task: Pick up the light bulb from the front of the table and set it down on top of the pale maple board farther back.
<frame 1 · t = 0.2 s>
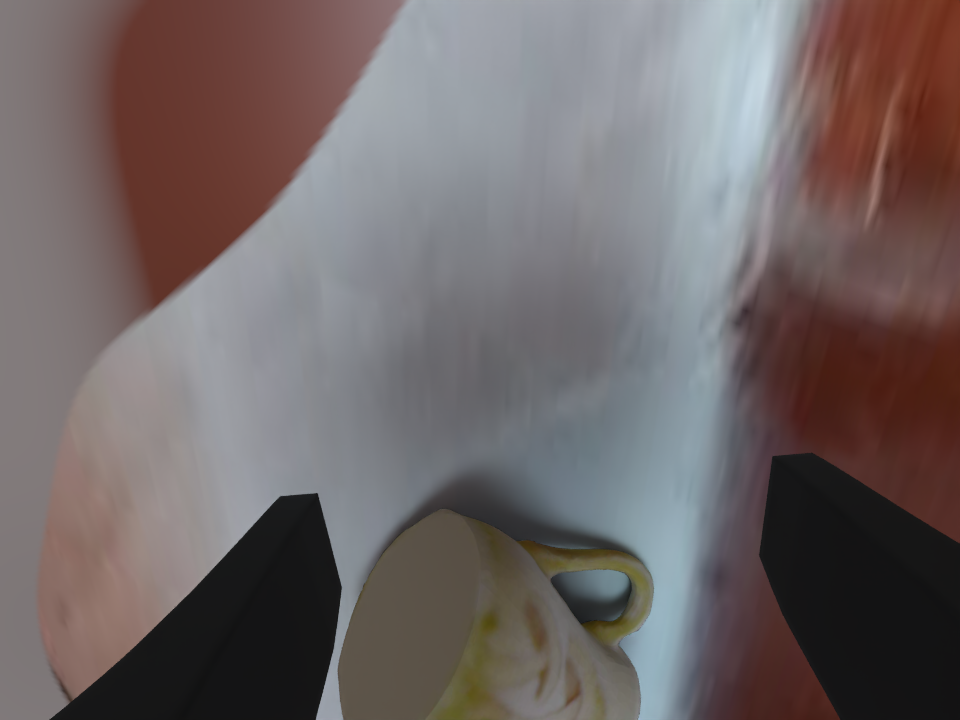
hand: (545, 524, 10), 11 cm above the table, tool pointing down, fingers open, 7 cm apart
mug: (512, 594, 24), on the table
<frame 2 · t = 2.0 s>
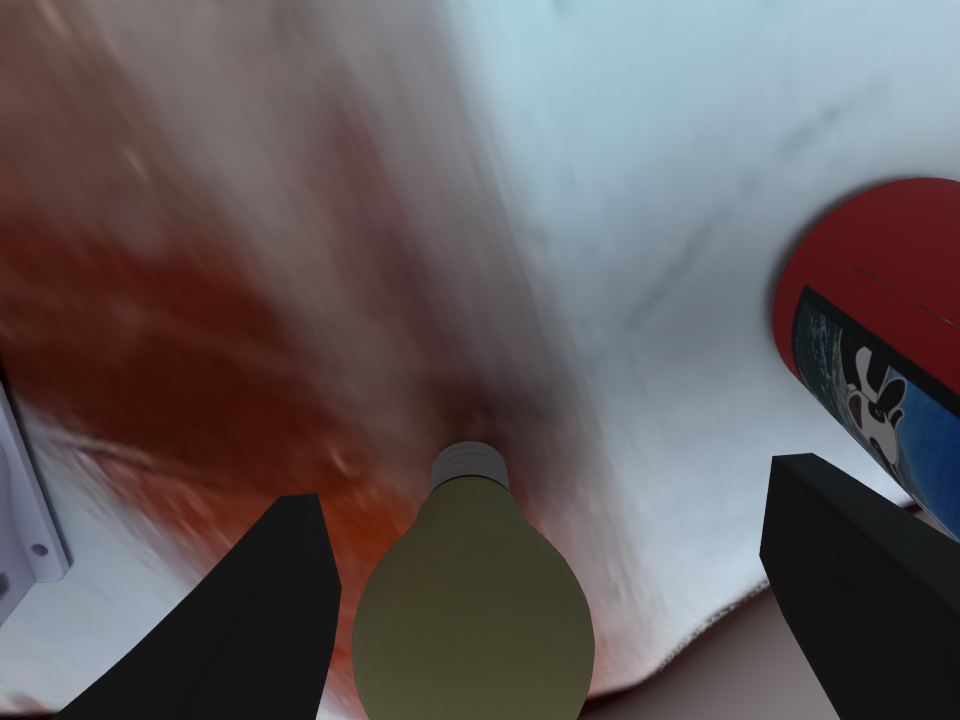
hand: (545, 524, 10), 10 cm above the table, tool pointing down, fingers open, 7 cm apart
beverage can: (870, 284, 19), on the table
light bulb: (468, 456, 22), on the table
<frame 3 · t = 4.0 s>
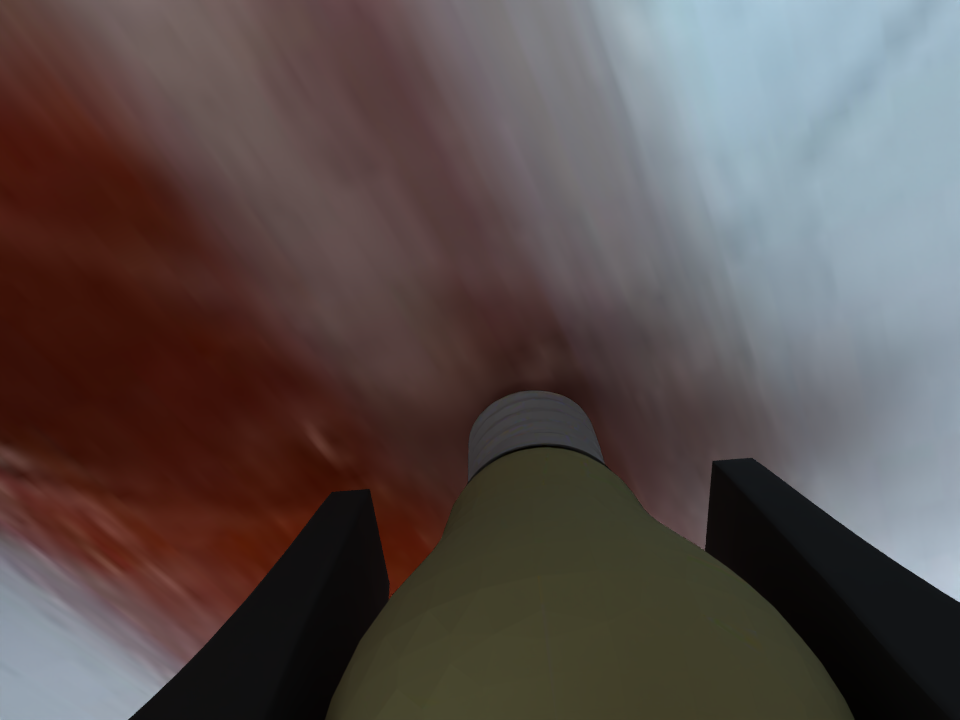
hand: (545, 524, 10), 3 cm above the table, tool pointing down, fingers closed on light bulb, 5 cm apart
light bulb: (527, 421, 13), on the table, touching gripper
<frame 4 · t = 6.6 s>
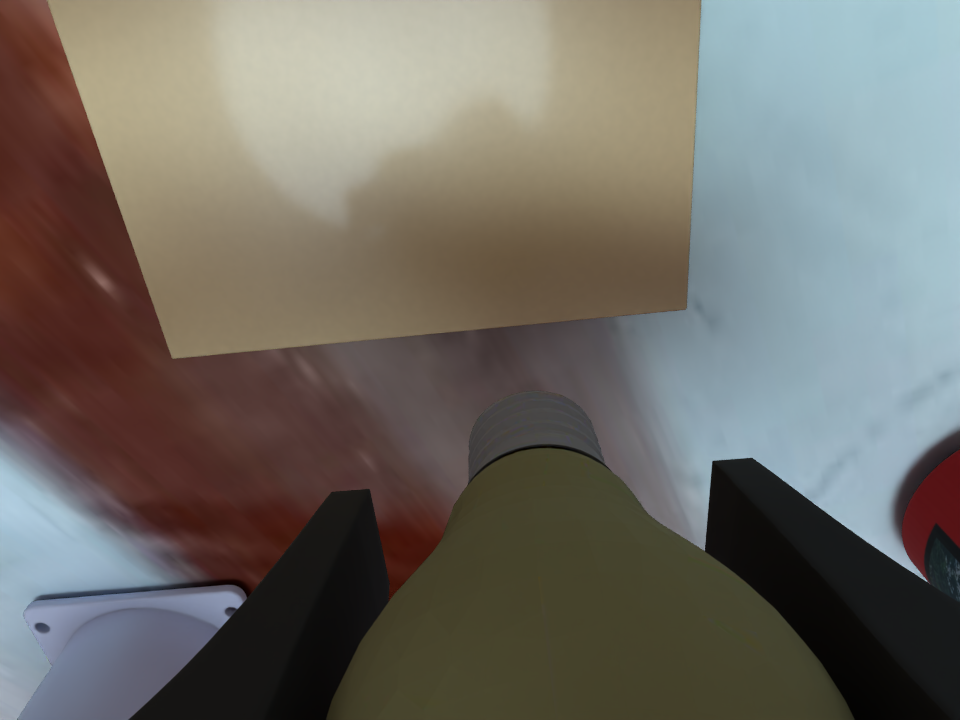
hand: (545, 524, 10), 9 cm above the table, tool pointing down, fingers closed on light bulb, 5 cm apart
light bulb: (528, 421, 13), point 6 cm above the table, touching gripper
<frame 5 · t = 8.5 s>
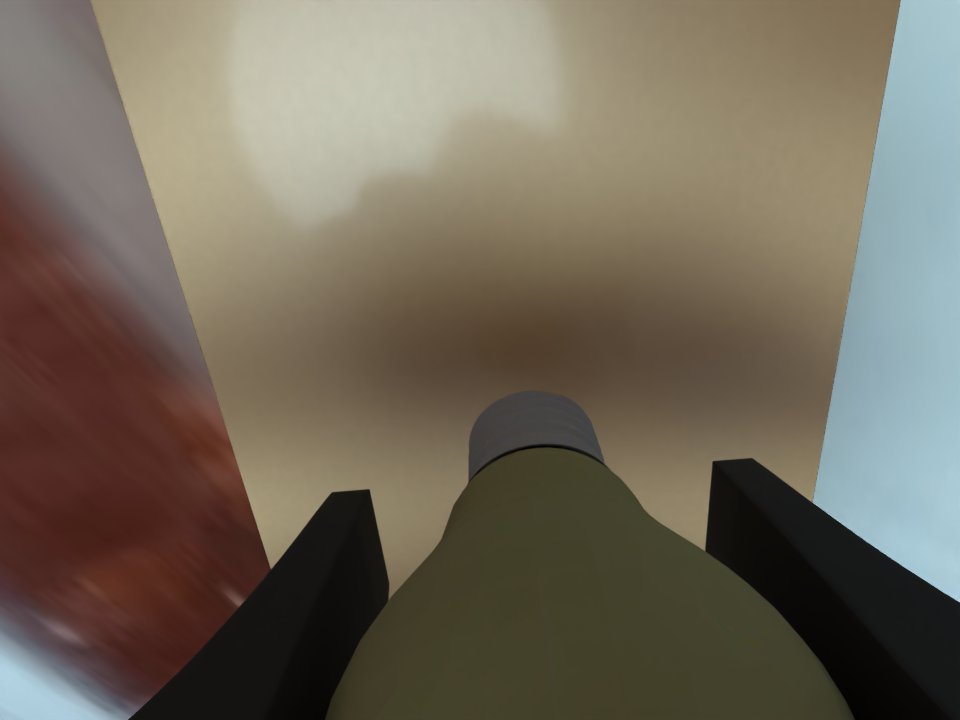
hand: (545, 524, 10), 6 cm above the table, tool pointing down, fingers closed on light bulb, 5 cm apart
maple board: (520, 353, 16), on the table
light bulb: (528, 421, 13), point 3 cm above the table, touching gripper
when the fingers open (4 cm above the table, at t = 9.7 s): light bulb stays where it is, resting on maple board.
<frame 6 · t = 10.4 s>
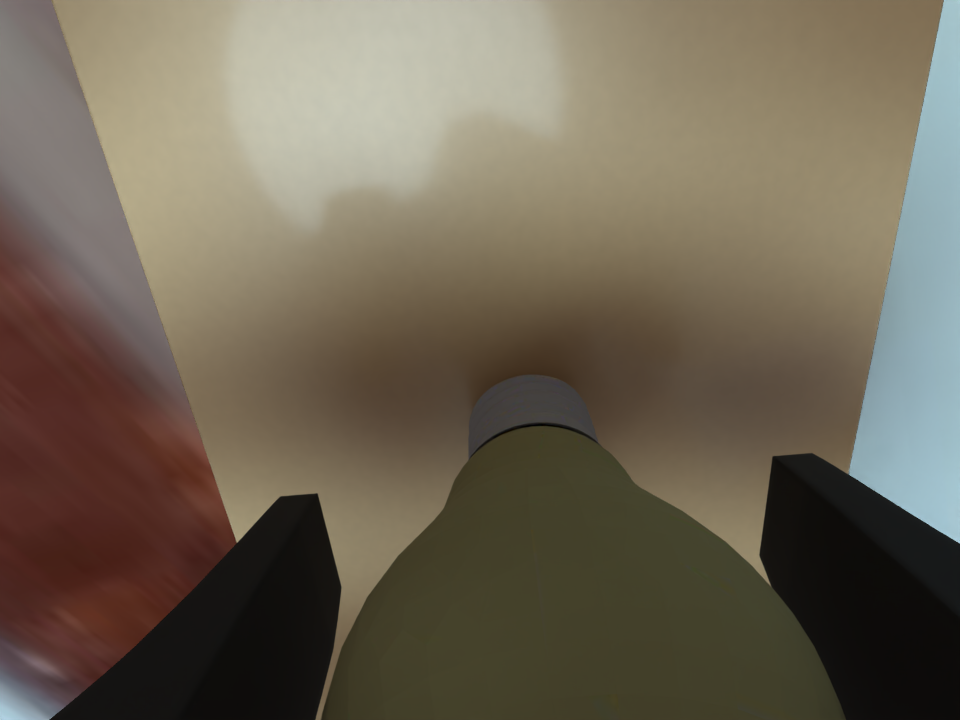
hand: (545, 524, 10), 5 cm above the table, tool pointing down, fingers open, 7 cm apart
maple board: (523, 376, 15), on the table
light bulb: (525, 405, 14), point 1 cm above the table, touching maple board
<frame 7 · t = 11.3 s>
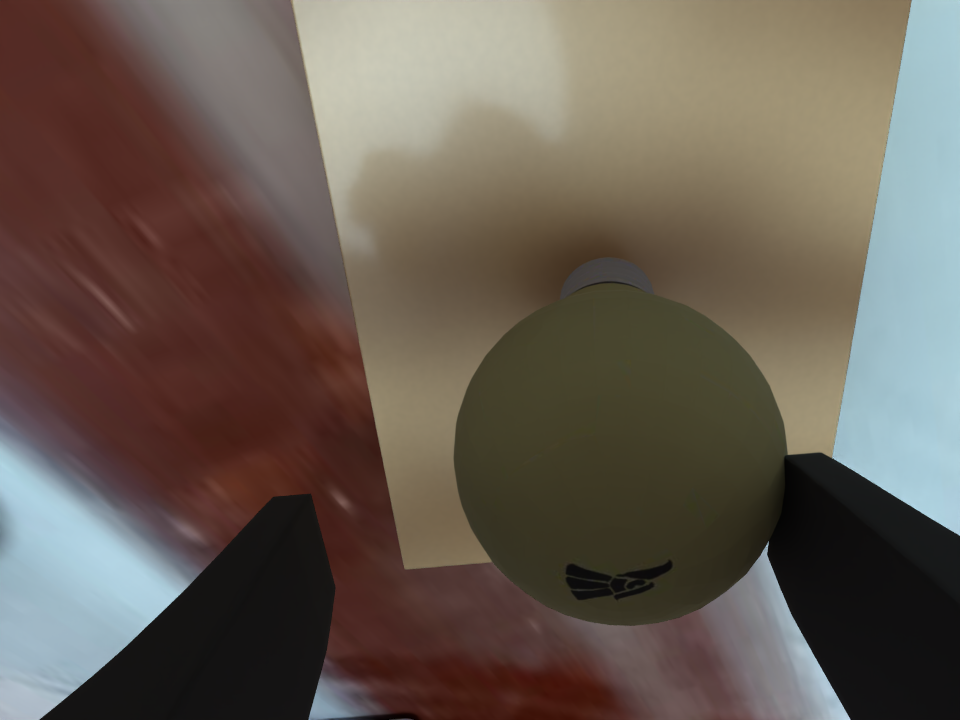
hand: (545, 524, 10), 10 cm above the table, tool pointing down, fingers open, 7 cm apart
maple board: (597, 271, 19), on the table
light bulb: (605, 289, 18), point 2 cm above the table, touching gripper, maple board
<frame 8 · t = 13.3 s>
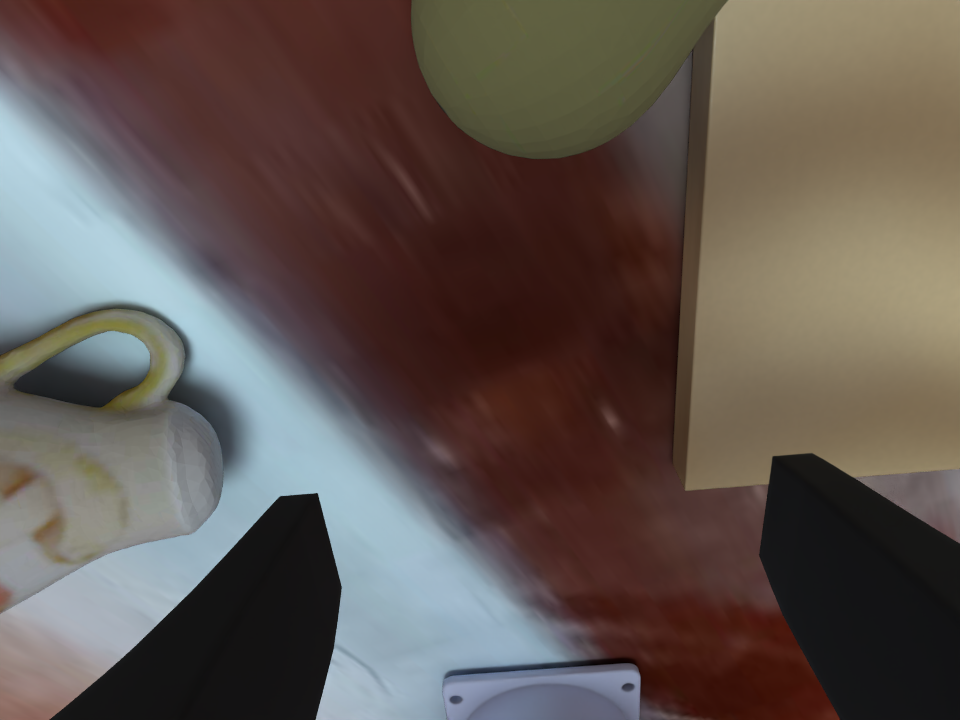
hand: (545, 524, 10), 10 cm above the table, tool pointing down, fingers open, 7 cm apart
maple board: (946, 155, 18), on the table
mug: (90, 420, 21), on the table
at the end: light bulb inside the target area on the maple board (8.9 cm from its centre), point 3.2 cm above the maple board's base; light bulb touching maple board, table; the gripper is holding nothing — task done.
